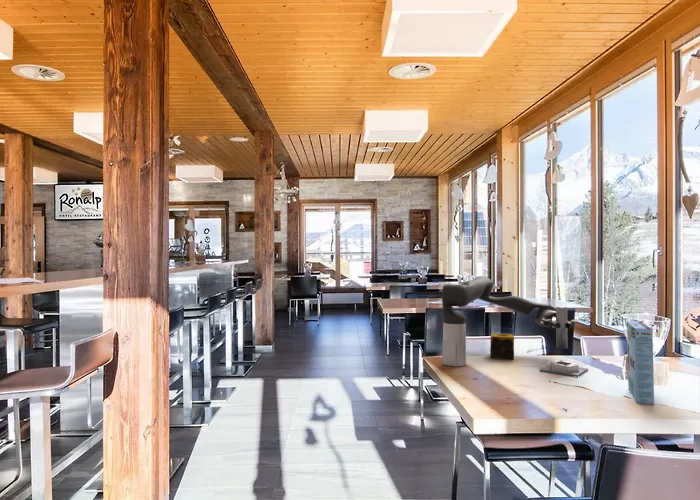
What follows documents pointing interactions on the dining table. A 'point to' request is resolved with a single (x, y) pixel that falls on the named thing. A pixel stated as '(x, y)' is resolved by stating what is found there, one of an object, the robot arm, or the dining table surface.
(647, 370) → the blue cardboard box
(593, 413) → the dining table surface
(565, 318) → the pin
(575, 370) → the collar
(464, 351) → the robot arm
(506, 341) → the brown textured cube
